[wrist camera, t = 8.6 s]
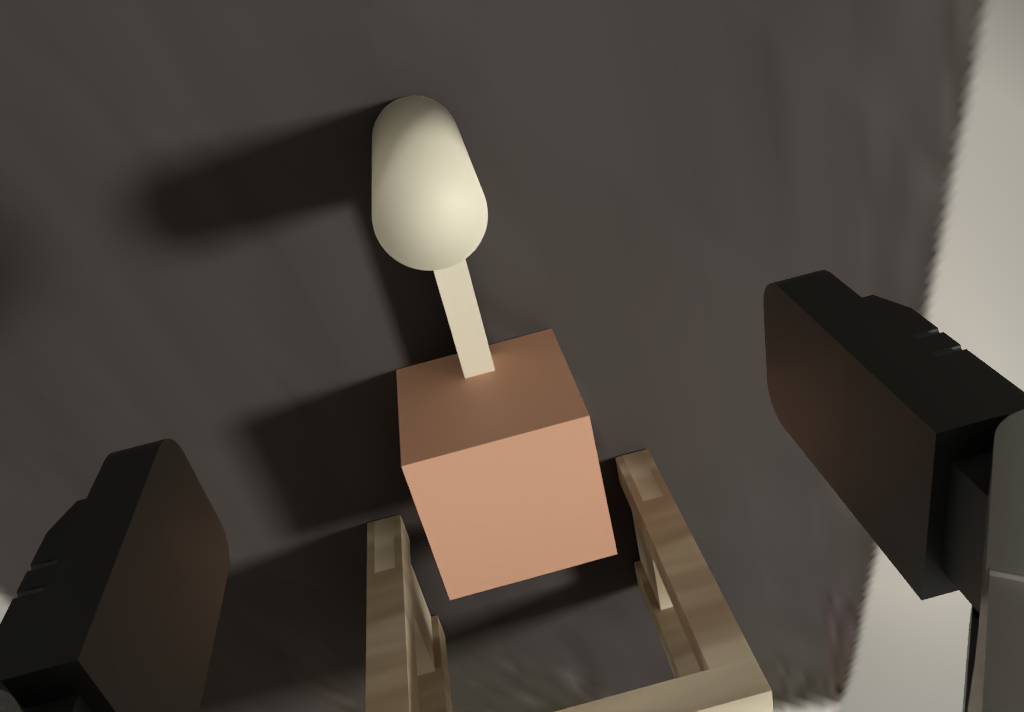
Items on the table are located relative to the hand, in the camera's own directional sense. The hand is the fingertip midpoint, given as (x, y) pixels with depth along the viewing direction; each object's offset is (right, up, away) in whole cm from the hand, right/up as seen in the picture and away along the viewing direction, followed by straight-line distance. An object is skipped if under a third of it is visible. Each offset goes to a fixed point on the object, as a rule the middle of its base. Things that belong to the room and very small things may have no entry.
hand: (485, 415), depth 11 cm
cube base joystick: (-1, +3, +18) cm, 18 cm away
